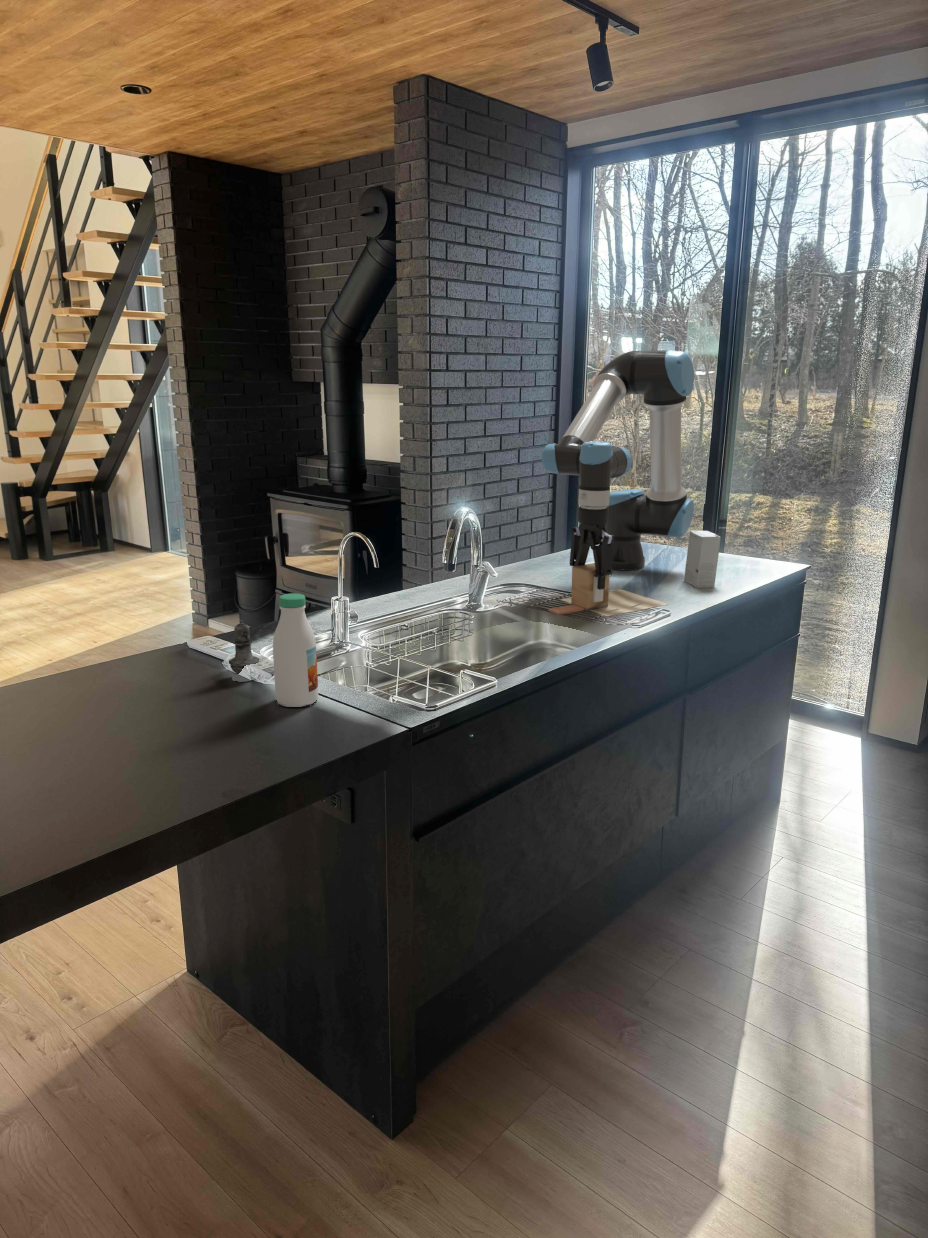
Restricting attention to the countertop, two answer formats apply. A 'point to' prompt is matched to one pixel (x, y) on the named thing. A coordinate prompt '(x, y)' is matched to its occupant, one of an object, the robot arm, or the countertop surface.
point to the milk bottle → (294, 654)
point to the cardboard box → (587, 587)
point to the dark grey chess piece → (242, 648)
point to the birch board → (624, 603)
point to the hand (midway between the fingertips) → (588, 598)
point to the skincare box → (702, 559)
